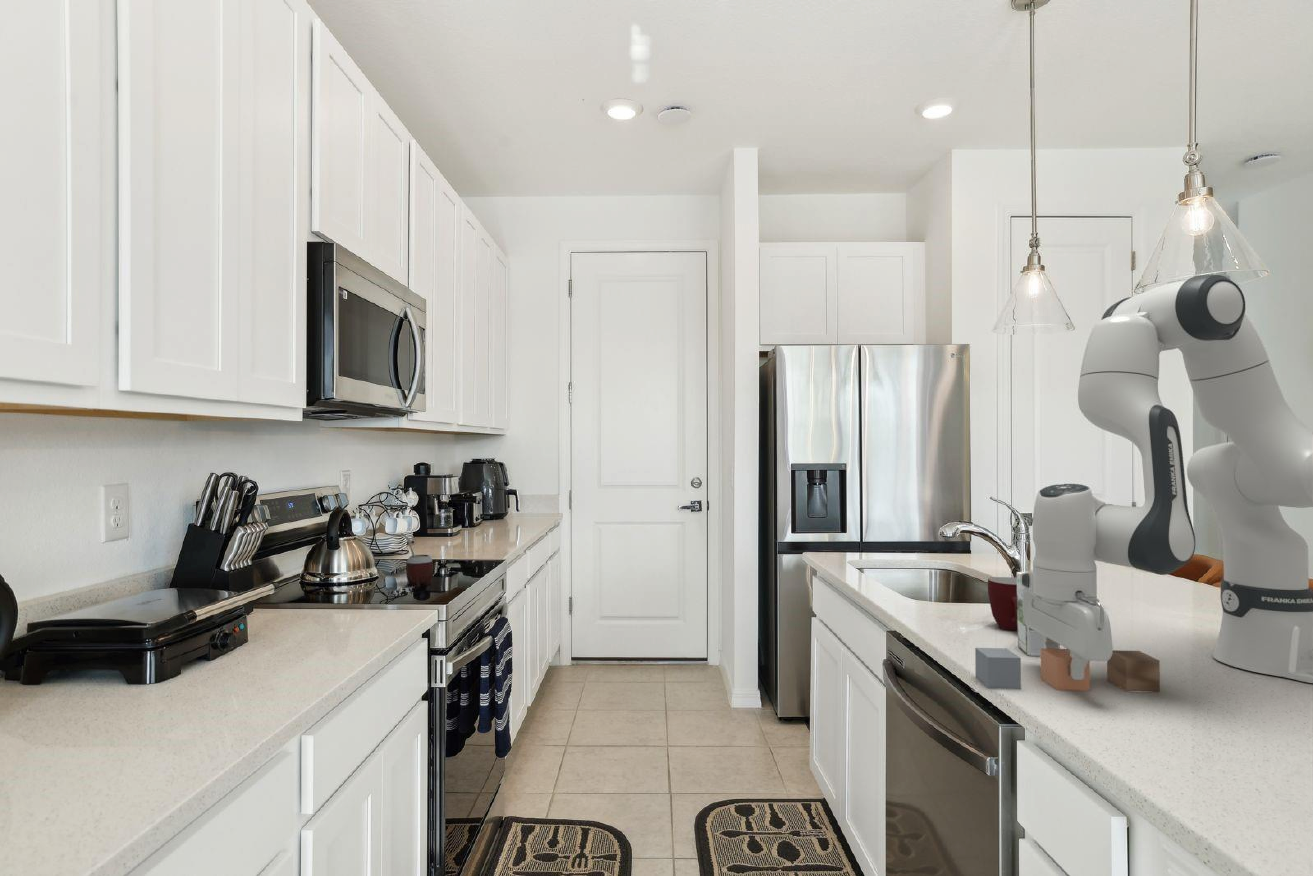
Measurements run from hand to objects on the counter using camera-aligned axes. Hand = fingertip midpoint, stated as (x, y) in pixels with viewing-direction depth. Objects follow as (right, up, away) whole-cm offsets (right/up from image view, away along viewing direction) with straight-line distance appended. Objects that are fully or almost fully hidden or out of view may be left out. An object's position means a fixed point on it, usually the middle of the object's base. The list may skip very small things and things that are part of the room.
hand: (1064, 671), depth 109 cm
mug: (+8, -3, +32) cm, 33 cm away
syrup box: (+5, -3, +17) cm, 18 cm away
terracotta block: (0, -2, 0) cm, 2 cm away
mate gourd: (-131, -3, +76) cm, 152 cm away
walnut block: (+10, -2, -1) cm, 11 cm away
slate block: (-11, -2, +1) cm, 11 cm away
